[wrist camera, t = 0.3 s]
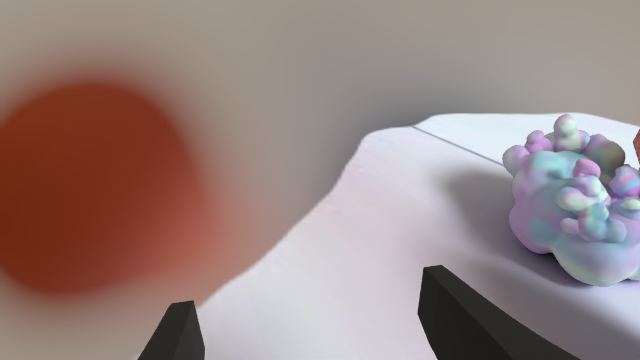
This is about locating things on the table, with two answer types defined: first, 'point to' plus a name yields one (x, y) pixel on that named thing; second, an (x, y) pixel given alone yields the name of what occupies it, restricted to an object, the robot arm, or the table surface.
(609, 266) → the lumpy lavender blob
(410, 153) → the table surface
